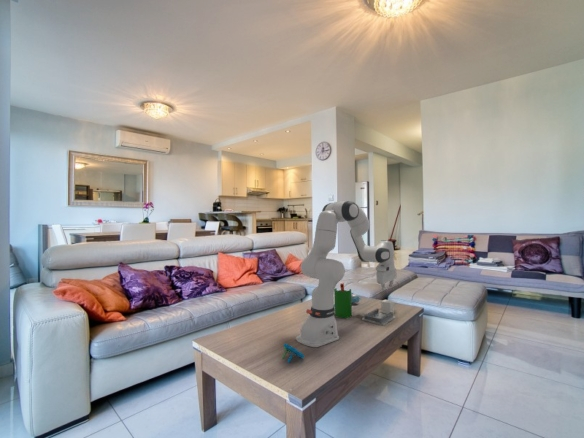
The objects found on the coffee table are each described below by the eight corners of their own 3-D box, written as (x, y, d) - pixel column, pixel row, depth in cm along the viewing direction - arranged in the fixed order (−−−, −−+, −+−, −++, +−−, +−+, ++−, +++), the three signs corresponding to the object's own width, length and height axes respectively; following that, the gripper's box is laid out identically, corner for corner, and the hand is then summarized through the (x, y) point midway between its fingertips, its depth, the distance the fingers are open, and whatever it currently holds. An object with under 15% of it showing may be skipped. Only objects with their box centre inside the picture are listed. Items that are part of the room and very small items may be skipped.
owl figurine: (351, 285, 208) (369, 289, 197) (351, 297, 208) (369, 301, 197) (327, 292, 189) (344, 297, 178) (327, 305, 189) (345, 311, 178)
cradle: (383, 325, 150) (383, 320, 150) (362, 319, 159) (362, 314, 159) (395, 318, 161) (395, 313, 161) (374, 313, 170) (374, 308, 170)
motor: (351, 313, 172) (350, 280, 172) (352, 318, 163) (351, 284, 163) (334, 312, 173) (333, 281, 173) (335, 317, 164) (334, 284, 164)
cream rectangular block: (390, 314, 167) (390, 303, 167) (380, 312, 172) (380, 301, 172) (394, 312, 171) (394, 301, 171) (384, 310, 175) (384, 299, 175)
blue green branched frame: (309, 357, 114) (294, 344, 111) (303, 371, 111) (287, 358, 108) (294, 351, 123) (279, 339, 120) (287, 364, 120) (272, 352, 117)
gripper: (389, 263, 181) (390, 284, 181) (374, 268, 166) (375, 291, 166) (398, 264, 176) (399, 285, 176) (384, 269, 162) (385, 292, 162)
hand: (387, 288), depth 171 cm, fingers open, 8 cm apart
